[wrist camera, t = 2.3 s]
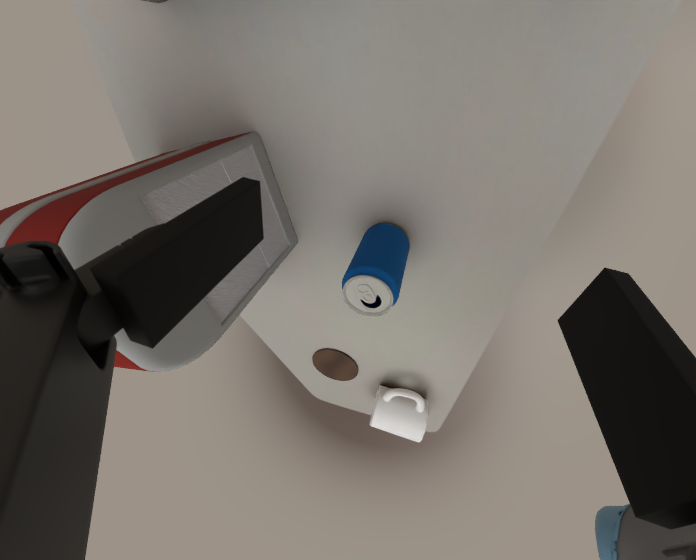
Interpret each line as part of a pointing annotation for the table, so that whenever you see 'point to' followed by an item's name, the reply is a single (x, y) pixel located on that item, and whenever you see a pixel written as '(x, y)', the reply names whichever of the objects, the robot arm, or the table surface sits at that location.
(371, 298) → the beverage can
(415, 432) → the mug
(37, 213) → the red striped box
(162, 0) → the building
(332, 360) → the coaster
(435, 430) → the table surface
